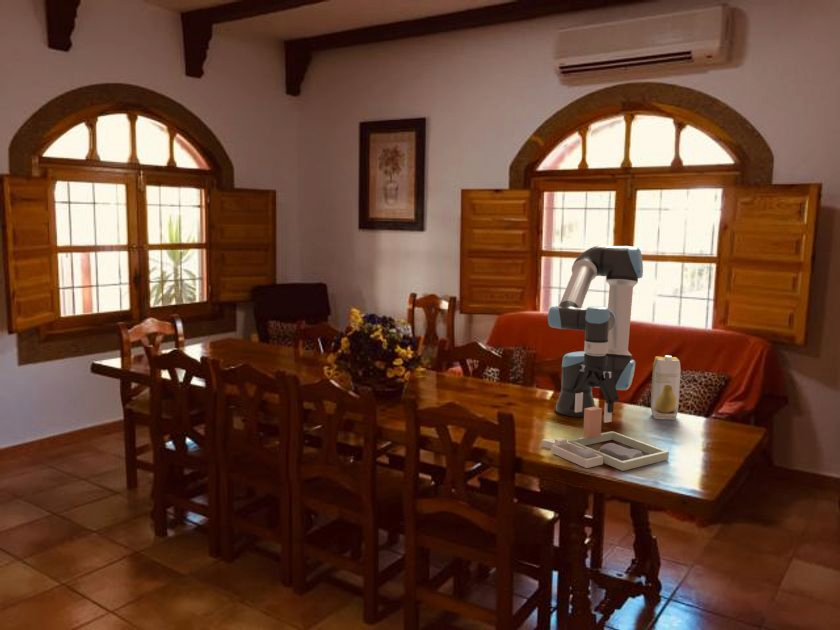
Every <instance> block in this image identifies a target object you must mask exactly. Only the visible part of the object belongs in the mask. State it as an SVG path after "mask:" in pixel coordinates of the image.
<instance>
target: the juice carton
mask: <svg viewBox="0 0 840 630" xmlns="http://www.w3.org/2000/svg"><path fill="white" fill-rule="evenodd" d="M681 372H682V370H681V361H680V359H679V358H678V357H676V356H672V355H669V354H668V355H667V354H666V355H664V356H655V357H654V362H653V365H652V379H651V396H650V410H651V415H652V416H653V419H655V420H668V421H669V420H671V421H672V420H673V421H674V420H676V419H677V417H678V414H679V413H678V411H679V405H680V404H679V402H680V387H681Z"/></svg>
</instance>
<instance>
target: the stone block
mask: <svg viewBox="0 0 840 630" xmlns="http://www.w3.org/2000/svg"><path fill="white" fill-rule="evenodd" d="M598 451H599V452H601V453H604V454H606V455H609V456H611V457H614V458H616V459H618V460H621V461H625V460H629V459H633V458H637V457H641V456H643V451H641V450H639V449H636V448H627V447H625V446H622V445H619V444H616V443H614V442H608V443H605V444H603V445H601V446H600V448H599V450H598Z"/></svg>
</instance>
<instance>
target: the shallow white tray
mask: <svg viewBox="0 0 840 630" xmlns="http://www.w3.org/2000/svg"><path fill="white" fill-rule="evenodd" d="M602 414H603V408H601V407H599V406H596V405H595V407H590V408H584V417H583V431H582V432H583V434H582V435H583V436H582V437H578V438H574V439H569V440H567V442H570V443H572V444H574V445H577V446H579V447H582V448H584V449H585V448H587V449H589V450H592V451H594V452H595V453H596V454H598V455H601V456H603V464H605V465H606V466H607V465H608V466H609V467H612V468H615V469H618V470H620V471H622V472H623V471H624V472H625V471H628V470H632V469H636V468H640V467H643V466H647V465H652V464H655V463H660V462H663V461H667V460H669V455H670V454H669V451H668V450H665V449H662V448H660V447H657V446H654V445H651V444H648V443H646V442H643V441H641V440H638V439H635V438H633V437H630V436H626V435H624V434H622V433H619V432H616V431H613V430H611V431H606V432H602V417H603V415H602ZM611 440H613V441H616V442H618V443H621V444H624V445H626V446H629V447H631V448H632V449H636V450H640V451H641V452H644V453H647V454H646V455H642V456H641V457H637V458H633V459H629V460H625V461H621V460H618V459H616V458H614V457H611V456H609V455H606V454H604V453H601V452H599V450H596V449H594V448H591V447H589V445H594V444H598V443H602V442H607V441H611Z"/></svg>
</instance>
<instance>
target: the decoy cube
mask: <svg viewBox="0 0 840 630" xmlns="http://www.w3.org/2000/svg"><path fill="white" fill-rule="evenodd" d="M576 455H579V456H581V457H583V458H586V459H588V458H592V457H595V452H594V451H592V450H589V449H587V448H585V449H580V450H577V453H576Z"/></svg>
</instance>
